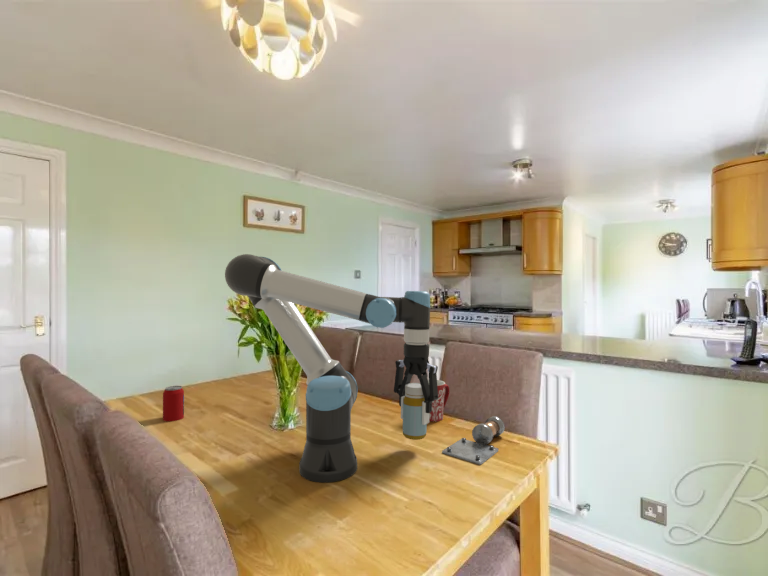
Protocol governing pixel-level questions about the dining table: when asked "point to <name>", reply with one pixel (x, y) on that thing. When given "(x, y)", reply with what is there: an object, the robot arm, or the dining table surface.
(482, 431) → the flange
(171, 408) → the beverage can
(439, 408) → the mug
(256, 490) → the dining table surface
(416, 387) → the bottle
